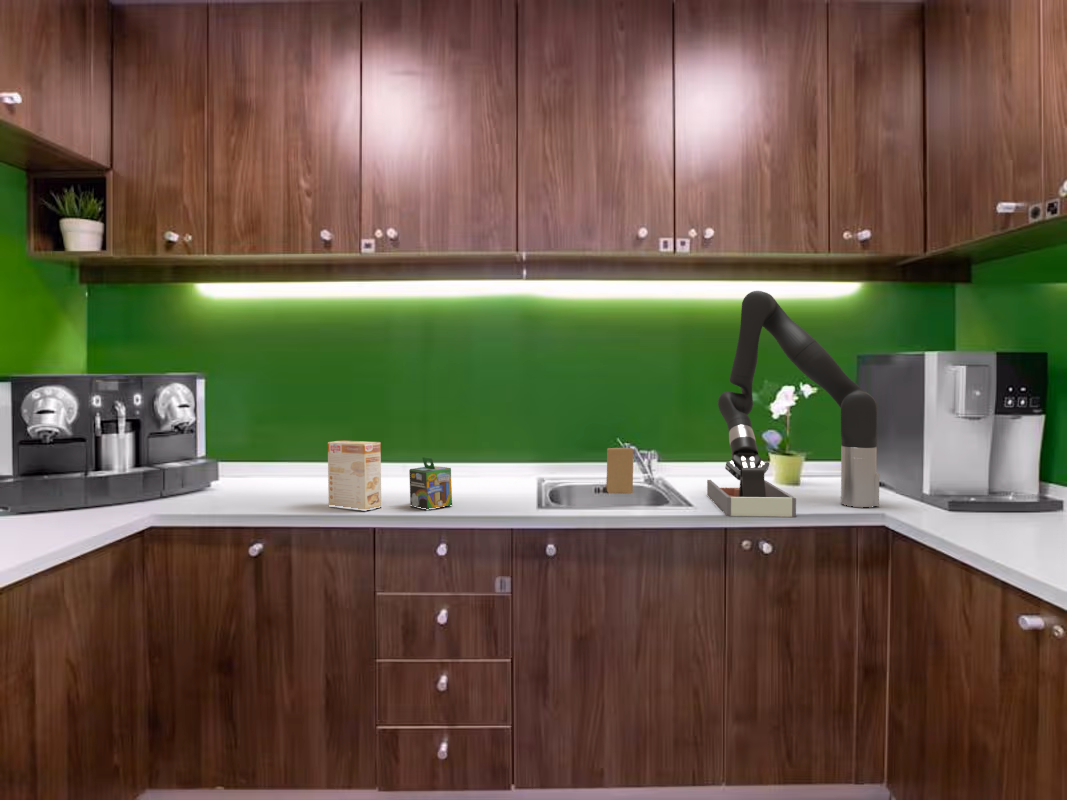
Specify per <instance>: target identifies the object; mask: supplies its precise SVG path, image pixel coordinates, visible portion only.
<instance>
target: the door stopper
mask: <svg viewBox="0 0 1067 800" xmlns="http://www.w3.org/2000/svg"><path fill="white" fill-rule="evenodd" d="M764 480H765V474H764V468H760V467H758V468H748V467H741V470H740V480H739V488H740V489H739V497H766V494H765V481H764Z"/></svg>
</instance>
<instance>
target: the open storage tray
mask: <svg viewBox="0 0 1067 800" xmlns="http://www.w3.org/2000/svg"><path fill="white" fill-rule="evenodd" d="M764 481H765V494H766V497H739V489H740V487H720V486H718V485H717V484H716V483H715V482H714V481H712V480H711V479H707V481H706V482H707V485H706V488H707V489H706V491H707V494H706V496H707V495H708V496H709V497H710V498H709V499H710V500H711V499H712V500H711V501H712V502H713V501H714V502H713V503H714V504H715V505H716V506H717V507H718V508H719V509H720V510H721V511H722V510H723V511H724V512H723V511H722V512H723V513H724V515H726V516H728V517H782V518H785V517H788V518H789V517H790V518H791V517H792V518H796V517H797V498H796V497H795V496H793V495H792V494H789V493H788V492H786V491H784V490H782V488H779V487H778V486H777V485H774V484H772V483H770V482H769V481H767V480H765V479H764ZM708 496H707V497H708Z"/></svg>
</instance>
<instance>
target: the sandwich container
mask: <svg viewBox="0 0 1067 800" xmlns="http://www.w3.org/2000/svg"><path fill="white" fill-rule="evenodd" d="M606 454H607V455H606V481H605V482H606V483H605V484H606V485H605V487H606V492H607V493H608V494H633V493H634V492H633V491H634V489H633V488H634V487H633V486H634V448H632V447H612V448H611V447H608V448H606Z"/></svg>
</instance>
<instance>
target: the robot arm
mask: <svg viewBox="0 0 1067 800" xmlns="http://www.w3.org/2000/svg"><path fill="white" fill-rule="evenodd" d="M740 311H741V312H740V325H739V335H738V341H737V346H736V349H735V350H736V351H735V355H734V359H733V362H732V367H731V372H730V376H729V382H730V383H731V384H733V385H734V386H737V387H739V388H740V389H741V393H739V392H734V391H724V392H722V393H721V394H720V395H719V397H718V401H717V404H718V405H717V406H718V409H719V410H718V411H719V412H720V414H721V416H722V417H723V419H724V421H725V423H726V425H727V429H728V430H727V431H728V441H729V447H730V451H731V460H730V461H726V463H725V466H724V469H725V470H726V471H727V472H729V474H731V475H732V476H733V477H734V478H735V479H736V480H737V481H740V470H741V467H748V468H764V475H766V473H767V471H768V470H769V467H770V463H769V462H768V461H766V462H764V461H763V460H762V458H761V457H760V455H759V449H758V446H757V442H756V441H757V440H756V437H755V433H754V429H753V427H752V420H751V418H750V416H749V414H750V413H751V411H752V410H753V406H754V404H753V403H754V399H753V397H754V396H753V382H754V377H755V373H756V369H757V364H758V356H759V341H760V336H761V332H762V329H763V328H764V330H766V331H768V333H769V334H770V335H772V337H773V338H774V339H775V340H776V341H777V343H778V345H779V347H780V348H781V350H782V351H783V353H784V354H785V355H786V357H787V358H788V359H789V360H790V361H791V362H792V364H793V365H794V366H795V367H796V368H797V369H798V370H799V371H801V372H802V373H803V374H804V375H805V376H806V377H807V378H809V380H811V381H812V382H813V383H815V384H816V385H818V386H819V387H821V388H822V389H823V390H825V392H827V393H828V394H829V396H830V397H831V398H832V399H833V400H834V402H835V403H836V404H837V405H838V407H840V438H841V439H840V441H841V445H840V446H841V450H840V452H841V454H840V456H841V457H840V460H841V461H840V466H841V468H840V475H841V476H840V504H841V505H842V504H844V505H843V506H846V505H847V506H846V507H851V506H853V508H854V507H855V508H863V507H869V508H873V507H872V506H879V507H880V473H878V472H877V458H878V457H877V445H878V441H877V440H878V439H877V438H878V437H877V436H878V435H877V434H878V433H877V428H878V427H877V422H878V420H877V417H878V416H877V415H878V414H877V413H878V412H877V411H878V403H877V401H876V399H875V397H873V395H872V394H870V393H868V392H867V391H866V390H865V389H863V388H862V387H861V386H859V385H858V384H857V383H856V382H854V381H853V380H852V379H851V378H850V377H849V376H848V375H847V374H846V373H845V371H843V368H841V367H840V365H839V364H838V362H836V361H835V359H834V357H832V356H831V355H830V354H829V352H828V351H827V350H826V349H825V348H824V347H823V346H822V345H821V344H820V342H818V341H817V340H816V339H815V338H814V337H812V336H811V335H810V334H809V333H808V332H807V331H806V330H805V329H803V328H802V326H800V325H799V324H797V322H795V321H794V320H793V319H792V318H790V316H789V315H788V314H787V312H785V310H784V309H783V308H782V307H781V305H779V303H778V302H777V300H776V299H775V298H774V296H772V295H771V294H770V293H768V292H766V291H765V292H764V291H762V290H753V291H751V292H748V293H747V294H746V295H745V296H744V298H743V300H742V302H741V310H740Z"/></svg>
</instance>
